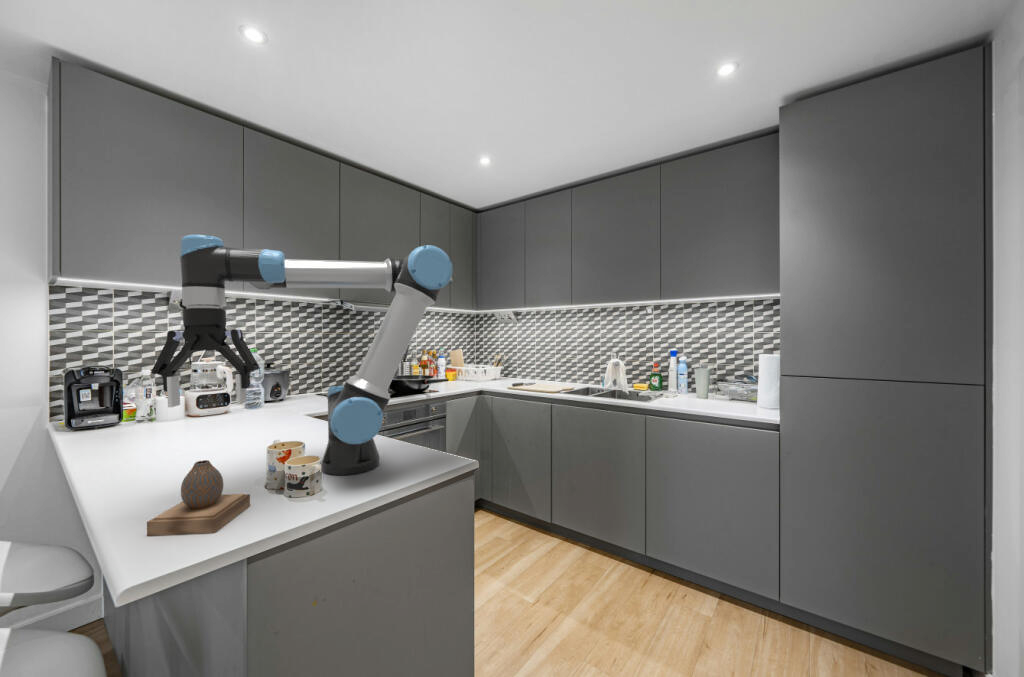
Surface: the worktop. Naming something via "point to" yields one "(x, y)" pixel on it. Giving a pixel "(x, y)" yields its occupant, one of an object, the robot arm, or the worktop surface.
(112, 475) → the worktop surface
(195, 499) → the vase
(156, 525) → the tray
